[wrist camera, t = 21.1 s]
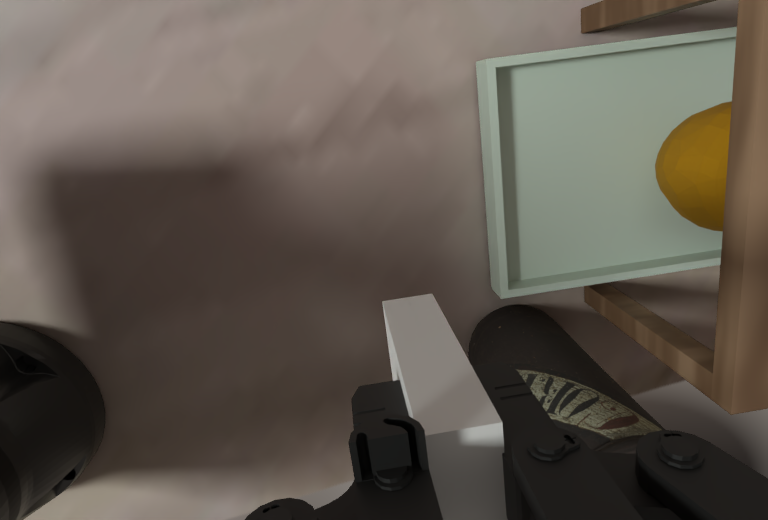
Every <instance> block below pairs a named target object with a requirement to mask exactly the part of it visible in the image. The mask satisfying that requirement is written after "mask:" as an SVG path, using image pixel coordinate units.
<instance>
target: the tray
mask: <svg viewBox="0 0 768 520" xmlns="http://www.w3.org/2000/svg"><path fill="white" fill-rule="evenodd" d="M736 34H737V27H731V28H724V29H716V30H708V31H700V32H692V33H685V34H677V35H669V36H661V37H653V38H646V39H638V40H630V41H622V42H614V43H607V44H599V45H591V46H583V47H575V48H568V49H560V50H552V51H544V52H536V53H529V54H521V55H513V56H505V57H497V58H490V59H484V60H481V61H477V62H476V72H477V86H478V101H479V116H480V130H481V145H482V159H483V174H484V189H485V203H486V218H487V233H488V247H489V262H490V276H491V288H492V289H493V290H494V292H495V293H496V294H497V295H498V296H499V297H500V298H501V299H505V298H511V297H517V296H524V295H530V294H537V293H543V292H549V291H556V290H562V289H569V288H575V287H581V286H588V285H594V284H600V283H607V282H613V281H620V280H626V279H632V278H639V277H645V276H652V275H658V274H664V273H671V272H677V271H683V270H690V269H696V268H703V267H709V266H715V265H720V264H721V250H722V235H723V232H722V231H713V230H710V229H706V228H703V227H699V226H697V225H696V224H694V223H692V222H690V221H689V220H687V219H685V218H684V217H682V216H681V215H680V214H679V213H678V212H677V211H676V210H675V209H674V208H673V207H672V205H671V204H670V202H669V201H668V199H667V198H666V197H665V195H664V194H663V193H662V191H661V190H660V188H659V185H658V182H657V179H656V171H655V163H656V159H657V155H658V153H659V150H660V148H661V146H662V144H663V142H664V141H665V139H666V138H667V137H668V135H669V134H670V133H671V132H672V130H674V129H675V128H676V127H677V126H678V125H679V124H680V123H682V122H683V121H684V120H686V119H687V118H688V117H690V116H691V115H693V114H696V113H698V112H701V111H703V110H706V109H709V108H711V107H714V106H716V105H719V104H721V103H726V102H731V101H732V91H733V77H734V62H735V48H736Z"/></svg>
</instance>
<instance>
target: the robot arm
mask: <svg viewBox="0 0 768 520" xmlns="http://www.w3.org/2000/svg"><path fill="white" fill-rule="evenodd" d="M382 304H383V311H384V318H385V326H386V333H387V340H388V348H389V355H390V363H391V370H392V377H393V381H389V382H383V383H377V384H371V385H365V386H359V388H358V389H357V391H356V393H355V394H354V396H353V398H352V412H353V425H354V431H353V432H352V433H351V435H350V439H349V448H350V454H351V460H352V466H353V472H354V477H355V479H354V482H353V484H352V486H350V488H349V489H348V490H347V491H346V492H345V493H344V494H343V495H342V496H340V497H339V498H338V499H336V500H334V501H332V502H331V503H329V504H327V505H325V506H322V507H320V508H318V509H315V510H314V508H313V506H311V505H309V504H308V503H307V502H305V501H303V500H299V499H293V498H286V499H279V500H274V501H272V502H269V503H267V504H265V505H262V506H260V507H259V508H257V509H256V510H255V511H253V512H252V513H251V514H250V515H248V516H247V518H246V519H245V520H768V479H767V478H766V477H764V476H763V475H761V474H759V473H758V472H756V471H755V470H753V469H751V468H750V467H748V466H747V465H745V464H743V463H742V462H740V461H739V460H737V459H735V458H734V457H732V456H731V455H729V454H727V453H726V452H724V451H723V450H721V449H719V448H718V447H716V446H715V445H713V444H711V443H710V442H708V441H706V440H704V439H702V438H699V437H697V436H695V435H692V434H688V433H684V432H680V431H669V430H660V431H655V432H650V433H647V434H646V435H644V436H643V437H641V438H640V439H639V441H638V443H637V446H636V454H628V453H610V452H601V451H595V450H591V449H590V448H589V447H588V446H587V444H586V443H585V442H584V441H583V440H582V439H581V438H580V437H579V436H577V435H576V434H575V433H572V432H570V431H568V430H566V429H563V428H558V427H557V426H556V425H555V423H554V422H553V421H552V419H551V418H550V416H549V415H548V413H547V412H546V411H545V409H544V408H543V406H542V405H541V404H540V402H539V401H538V399H537V398H536V396H535V395H533V392H532V391H531V389H530V388H529V387H528V385H526V382H525V381H524V379H523V378H522V377H521V375H520V374H519V372H518V371H517V370H515V369H514V368H512V367H510V366H509V365H507V364H505V363H503V362H496V363H489V364H483V365H477V366H471V364H470V362H469V360H468V358H467V356H466V355H465V353H464V351H463V349H462V347H461V345H460V344H459V342H458V340H457V338H456V336H455V334H454V332H453V331H452V329H451V327H450V325H449V323H448V321H447V320H446V318H445V316H444V314H443V312H442V310H441V309H440V307H439V305H438V303H437V301H436V299H435V298H434V296H433V294H426V295H419V296H413V297H406V298H400V299H393V300H387V301H382ZM104 426H105V411H104V404H103V400H102V397H101V394H100V391H99V389H98V386H97V384H96V382H95V381H94V379H93V377H92V376H91V374H90V373H89V371H88V370H87V369H86V367H85V366H84V365H83V364H82V363H81V362H80V361H79V360H78V359H77V358H76V357H75V356H74V355H73V354H72V353H71V352H70V351H68V350H67V349H66V348H64V347H63V346H62V345H60V344H59V343H57V342H56V341H54V340H52V339H50V338H49V337H47V336H45V335H42V334H40V333H38V332H35V331H33V330H30V329H27V328H24V327H20V326H17V325H12V324H6V323H0V520H23V519H25V518H26V517H28V516H29V515H31V514H32V513H33V512H35V511H36V510H38V509H39V508H41V507H42V506H43V505H45V504H46V503H48V502H49V501H51V500H52V499H53V498H55V497H56V496H58V495H59V494H61V493H62V492H63V491H64V490H66V489H67V488H68V487H69V486H70V485H71V484H72V483H73V482H74V481H75V480H76V479H77V478H78V477H79V476H80V475H81V473H82V472H83V470H84V469H85V468H86V466H87V465H88V463H89V462H90V460H91V459H92V457H93V456H94V454H95V452H96V451H97V449H98V447H99V445H100V442H101V440H102V436H103V432H104Z"/></svg>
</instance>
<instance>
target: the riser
mask: <svg viewBox="0 0 768 520" xmlns="http://www.w3.org/2000/svg"><path fill="white" fill-rule="evenodd" d="M712 1H716V0H603V1H601V2H598V3H595V4H593V5H590V6H587V7H585V8H582V9H581V33H589V32H597V31H604V30H608V29H611V28H615V27H619V26H623V25H626V24H630V23H634V22H637V21H641V20H645V19H649V18H652V17H656V16H660V15H664V14H667V13H671V12H675V11H679V10H682V9H686V8H690V7H693V6H697V5H701V4H705V3H708V2H712ZM584 294H585V302H586V303H587V304H588V305H590V306H591V307H592V308H593V309H595V310H596V311H597V312H599V313H600V314H601V315H602V316H604V317H605V318H606V319H608V320H609V321H610V322H612V323H613V324H614V325H615V326H617V327H618V328H619V329H621V330H622V331H623V332H624V333H626V334H627V335H628V336H630V337H631V338H632V339H634V340H635V341H636V342H637V343H639V344H640V345H641V346H643V347H644V348H645V349H646V350H648V351H649V352H650V353H652V354H653V355H654V356H656V357H657V358H658V359H659V360H661V361H662V362H663V363H665V364H666V365H667V366H668V367H670V368H671V369H672V370H674V371H675V372H676V373H678V374H679V375H680V376H681V377H683V378H684V379H685V380H687V381H688V382H689V383H690V384H692V385H693V386H694V387H696V388H697V389H698V390H700V391H701V392H702V393H703V394H705V395H706V396H707V397H709V398H710V399H711V400H712V401H714V402H715V403H716V404H718V405H719V406H720V407H722V408H723V409H724V410H725V411H727V412H728V413H729V414H731V415H733V414H738V413H744V412H750V411H756V410H761V409H767V408H768V0H739V5H738V19H737V34H736V48H735V62H734V77H733V91H732V106H731V120H730V134H729V149H728V163H727V178H726V192H725V206H724V221H723V235H722V250H721V264H720V278H719V293H718V307H717V322H716V336H715V350H714V352H713V351H712V350H710V349H709V348H707V347H706V346H704V345H702V344H701V343H699V342H698V341H696V340H695V339H693V338H692V337H690V336H688V335H687V334H685V333H684V332H682V331H681V330H679V329H678V328H676V327H674V326H673V325H671V324H670V323H668V322H667V321H665V320H664V319H662V318H660V317H659V316H657V315H656V314H654V313H653V312H651V311H650V310H648V309H646V308H645V307H643V306H642V305H640V304H639V303H637V302H636V301H634V300H633V299H631V298H629V297H628V296H626V295H625V294H623V293H622V292H620V291H619V290H617V289H615V288H614V287H612V286H611V285H609V284H608V283H600V284H594V285H588V286H584Z"/></svg>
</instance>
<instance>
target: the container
mask: <svg viewBox="0 0 768 520" xmlns="http://www.w3.org/2000/svg"><path fill="white" fill-rule="evenodd" d="M469 360H470V364H471V366H477V365H483V364H489V363H496V362H503V363H505V364H507V365H509V366H510V367H512V368H514V369H515V370H517V371H518V372H519V374H520V375H521V377H522V378H523V379H524V381H525V382H526V385H528V387H529V388H530V389H531V391H532V392H533V395H535V396H536V398H537V399H538V401H539V402H540V404H541V405H542V406H543V408H544V409H545V411H546V412H547V413H548V415H549V416H550V418H551V419H552V421H553V422H554V423H555V425H556V426H557V427H558V428H563V429H566V430H568V431H570V432H572V433H575V434H576V435H577V436H579V437H580V438H581V439H582V440H583V441H584V442H585V443H586V444H587V446H588V447H589V448H590V449H591V450H595V451H601V452H610V453H628V454H636V446H637V443H638V441H639V439H640V438H641V437H643V436H644V435H646V434H647V433H650V432H655V431H660V430H665V429H664V428H663V427H662V426H661V425H660V424H659V423H658V422H657V421H656V420H654V419H653V418H652V417H651V416H650V415H649V414H648V413H647V412H646V411H645V410H644V409H643V408H642V407H641V406H640V405H639V404H638V403H636V402H635V400H634V399H632V397H631V396H630V395H629V394H628V393H626V392H625V391H624V390H623V389H622V388H621V387H620V386H619V385H618V384H617V383H616V382H615V381H614V380H613V379H612V378H611V377H610V376H609V375H608V374H607V373H606V372H605V371H604V370H603V369H602V368H601V367H600V366H599V365H598V364H597V363H596V362H595V361H594V360H593V359H592V358H591V357H590V356H589V355H588V354H587V353H586V352H585V351H584V350H583V349H582V348H581V347H580V346H579V345H578V344H577V343H576V342H575V341H574V340H573V339H572V338H571V337H570V336H569V335H568V334H567V333H566V332H565V331H564V330H563V329H562V328H561V327H560V326H559V325H558V324H557V323H556V322H555V321H554V320H553V319H552V318H550V317H549V316H548V315H547V314H545V313H544V312H542V311H540V310H538V309H536V308H532V307H528V306H508V307H504V308H501V309H498V310H496V311H493V312H492V313H490V314H488V315H487V316H486V317H485V318H483V319H482V320H481V321H480V323H479V324H478V325H477V327H476V328H475V330H474V332H473V335H472V337H471V341H470V345H469Z"/></svg>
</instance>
